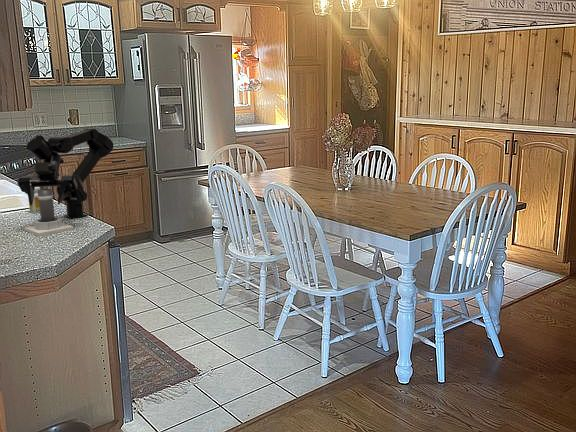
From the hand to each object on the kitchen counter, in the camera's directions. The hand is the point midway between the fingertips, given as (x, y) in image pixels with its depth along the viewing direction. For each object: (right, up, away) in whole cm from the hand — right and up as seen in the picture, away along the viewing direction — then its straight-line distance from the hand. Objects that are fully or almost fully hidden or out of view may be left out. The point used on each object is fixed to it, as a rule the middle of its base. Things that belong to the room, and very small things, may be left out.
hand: (44, 204), depth 200 cm
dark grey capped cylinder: (0, -8, +3) cm, 9 cm away
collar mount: (0, -9, +3) cm, 10 cm away
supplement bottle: (-16, -3, +33) cm, 37 cm away
